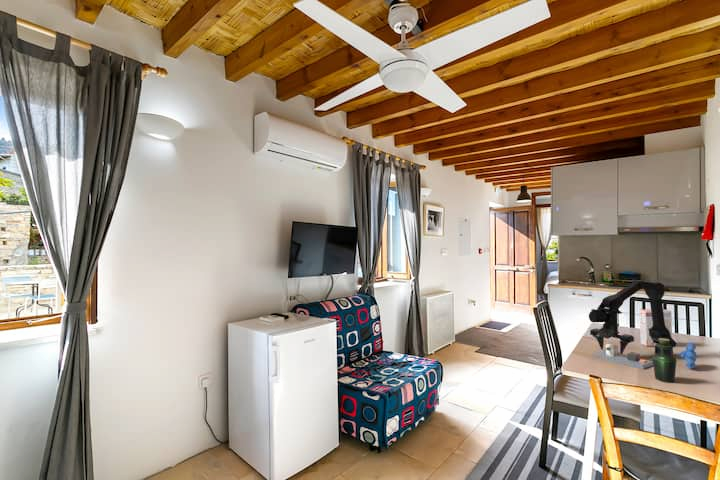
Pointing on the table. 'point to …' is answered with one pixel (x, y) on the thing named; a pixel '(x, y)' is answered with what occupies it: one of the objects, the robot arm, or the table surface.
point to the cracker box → (648, 323)
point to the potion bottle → (664, 362)
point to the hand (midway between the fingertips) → (611, 351)
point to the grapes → (689, 355)
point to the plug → (612, 350)
